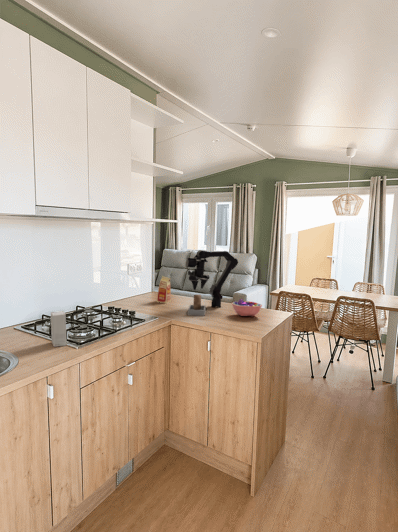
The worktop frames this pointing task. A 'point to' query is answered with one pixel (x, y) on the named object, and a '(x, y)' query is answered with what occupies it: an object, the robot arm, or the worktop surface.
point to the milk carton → (164, 290)
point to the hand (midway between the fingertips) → (198, 289)
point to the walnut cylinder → (197, 302)
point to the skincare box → (58, 328)
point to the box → (196, 311)
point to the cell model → (246, 308)
